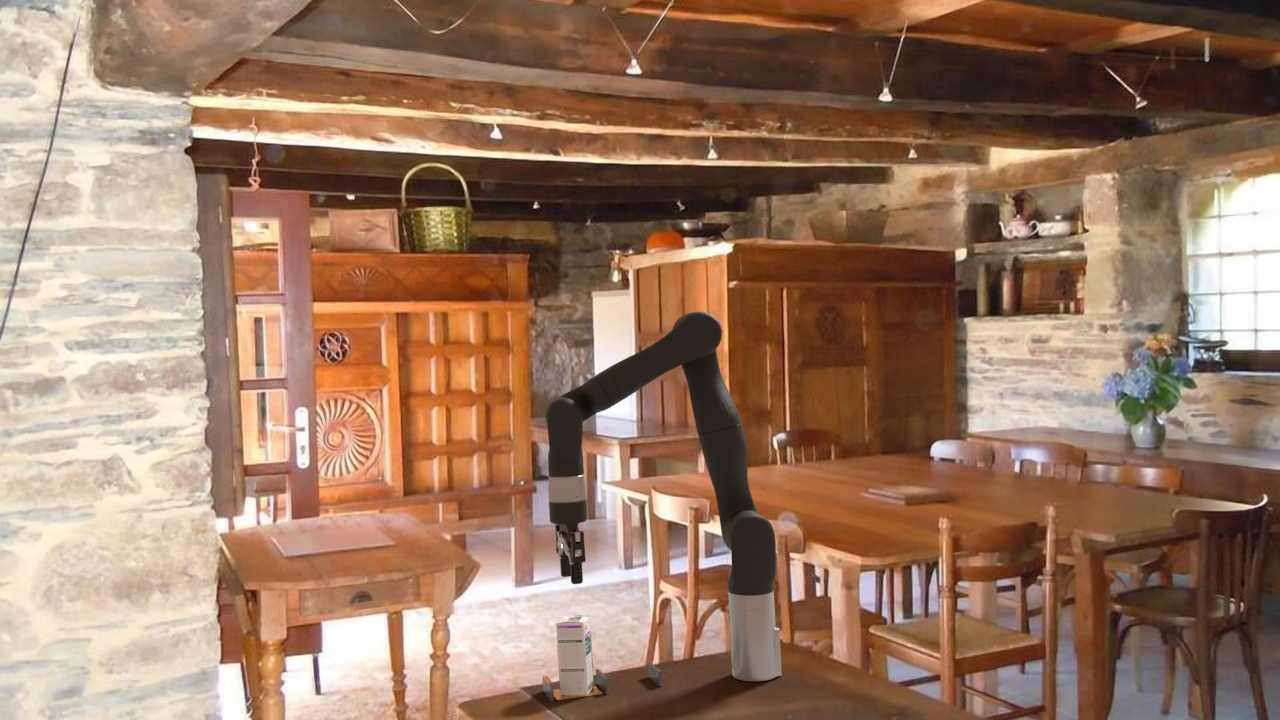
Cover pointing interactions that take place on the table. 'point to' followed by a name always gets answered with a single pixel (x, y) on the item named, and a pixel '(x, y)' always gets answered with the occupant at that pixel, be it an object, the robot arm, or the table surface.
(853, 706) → the table surface
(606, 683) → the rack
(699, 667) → the table surface
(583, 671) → the syrup box
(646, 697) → the table surface
